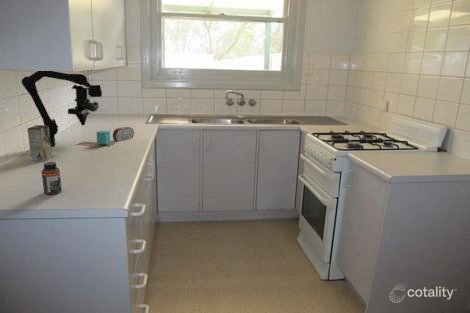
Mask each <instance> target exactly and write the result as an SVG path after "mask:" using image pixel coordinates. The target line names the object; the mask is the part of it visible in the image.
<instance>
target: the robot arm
mask: <svg viewBox="0 0 470 313" xmlns="http://www.w3.org/2000/svg"><path fill="white" fill-rule="evenodd" d="M45 77H46V78H52V79H55V80H57V79H58V80H63V81H68V82H71V83H74V84H73V86H72V87H71V89H72V90H75V99H74V102H76V105H75V106H74V107H70V108H68V110H67V115H75V116H76V117H77V119H78V121H79V123H80V125H81V126H85V125H86V121H87V118H88V116H89V115H90V114H91V112H92V113H93V112H97V111H98V109H99V107H100V106H99V102H97V101H94V102H91V101H90V99H89V98H88V96H89V97H90V98H101V97H102V96H103V92H102V88H101V84H95V85H93V84H91V83H89V82H88V78H87V76H86V75H84V74H83V73H82V74H81V73H64V72H62V71H61V72H60V71H55V70H50V71H38V70H37V71H35V72H34V73H31V74H30V75H28V76H27V75H25V76H24V78H23V77H22V78H23V79H22V78H21V84H22V86H23V88H24V89H25V90H26V91H27V93H28V94H29V95H30V96H31V99H32V101H33V103H34V105H35V107H36V109H37V110H38V113H39V115H40V116H41V119H42V122H43V125H49V130H50V139H51V148H54V147H56V144H57V143H56V137H55V136H56V135H57V134H58V133H59V129H58V128H59V126H58V124H57V123H56V119H55V118H53V119H52V118H51V117H50V115H49V113H48V111H47V109H46V106H45V105H44V103H43V101H42V99H41V97H40V94H39V93H38V89H37V86H36V83H37V82H39V81H41V79H43V78H45ZM76 84H77V85H76ZM83 86H84V87H83ZM89 111H90V112H89Z"/></svg>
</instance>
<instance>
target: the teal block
mask: <svg viewBox="0 0 470 313" xmlns="http://www.w3.org/2000/svg"><path fill="white" fill-rule="evenodd" d="M96 142H97V144H108V143H111V130H101V129H100V130H98V131H96Z"/></svg>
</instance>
